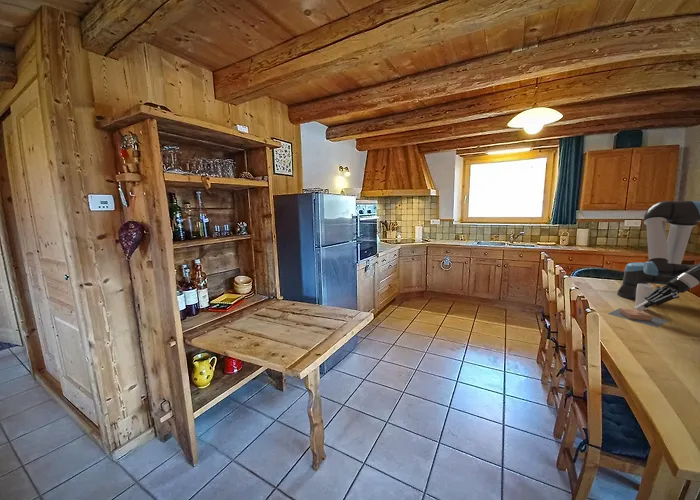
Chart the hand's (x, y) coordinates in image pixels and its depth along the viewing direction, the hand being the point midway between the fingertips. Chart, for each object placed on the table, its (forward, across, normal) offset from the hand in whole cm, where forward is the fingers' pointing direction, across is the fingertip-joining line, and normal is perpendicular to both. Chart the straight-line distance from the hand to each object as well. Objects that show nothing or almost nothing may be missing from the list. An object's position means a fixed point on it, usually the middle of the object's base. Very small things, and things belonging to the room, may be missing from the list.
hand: (637, 309), depth 154 cm
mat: (+3, 0, -4) cm, 5 cm away
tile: (-1, 0, -5) cm, 6 cm away
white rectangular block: (-5, +17, -12) cm, 21 cm away
